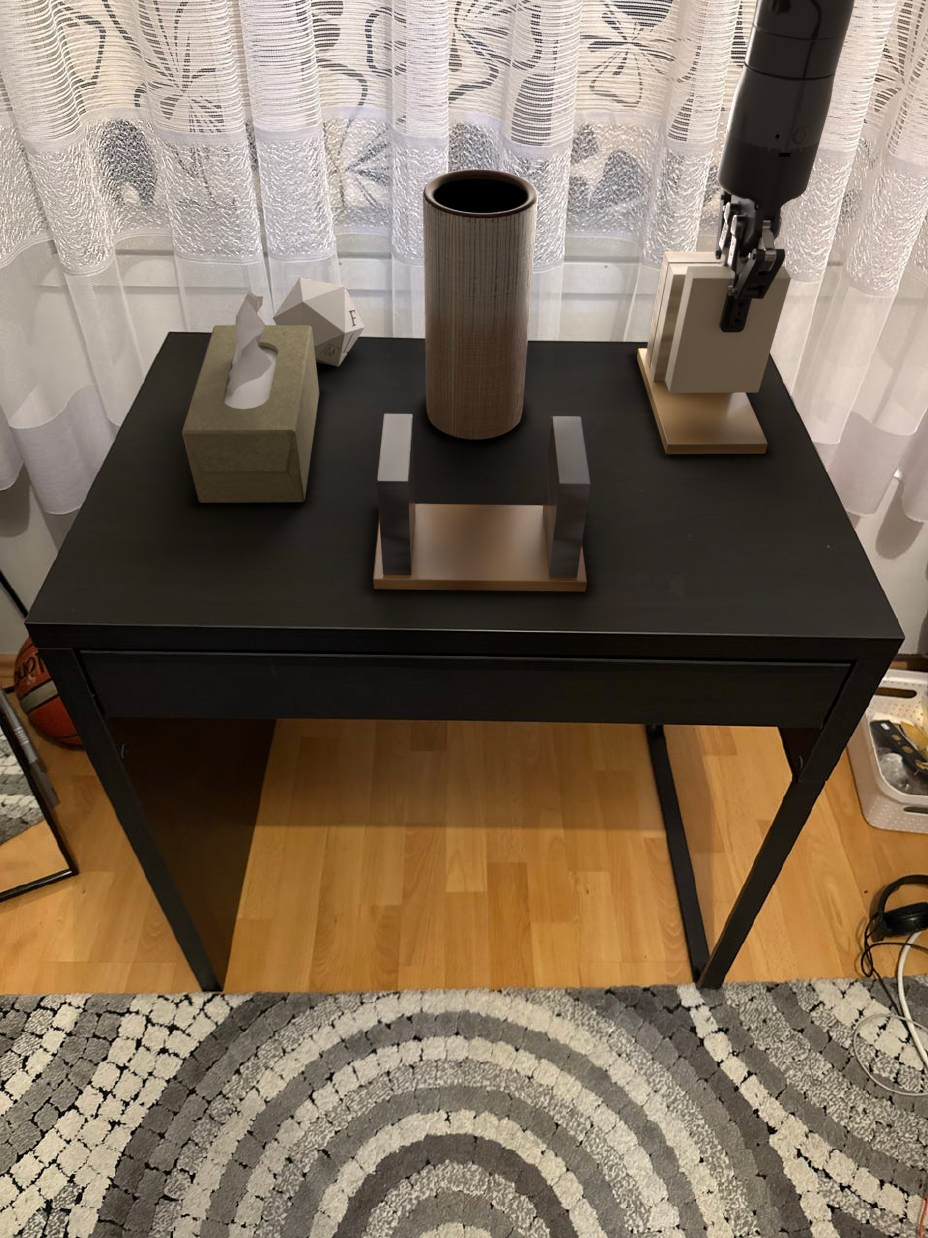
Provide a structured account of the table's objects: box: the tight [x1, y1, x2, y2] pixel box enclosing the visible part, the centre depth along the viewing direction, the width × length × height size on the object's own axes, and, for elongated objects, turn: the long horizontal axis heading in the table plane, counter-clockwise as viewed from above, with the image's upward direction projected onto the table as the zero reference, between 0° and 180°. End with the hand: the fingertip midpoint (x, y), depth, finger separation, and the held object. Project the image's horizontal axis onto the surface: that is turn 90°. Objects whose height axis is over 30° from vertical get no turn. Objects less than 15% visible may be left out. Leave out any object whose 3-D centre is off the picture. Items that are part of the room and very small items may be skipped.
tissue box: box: [181, 291, 320, 504], centre depth 87 cm, size 19×10×16 cm, turn 2°
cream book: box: [665, 265, 792, 394], centre depth 89 cm, size 2×9×12 cm, turn 92°
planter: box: [422, 168, 539, 441], centre depth 89 cm, size 10×10×23 cm
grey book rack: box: [372, 413, 592, 593], centre depth 78 cm, size 18×10×11 cm, turn 90°
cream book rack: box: [636, 251, 769, 455], centre depth 94 cm, size 18×10×13 cm, turn 2°
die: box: [272, 277, 366, 367], centre depth 101 cm, size 8×9×10 cm
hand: (727, 321), depth 88 cm, fingers closed on cream book, 2 cm apart
